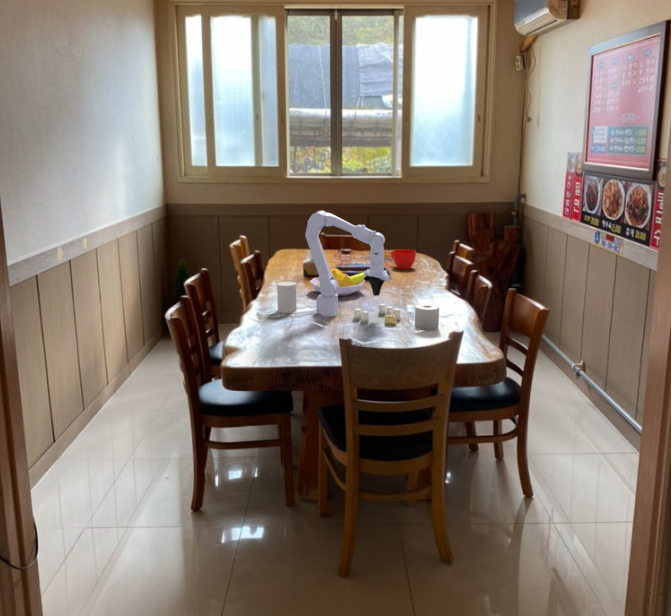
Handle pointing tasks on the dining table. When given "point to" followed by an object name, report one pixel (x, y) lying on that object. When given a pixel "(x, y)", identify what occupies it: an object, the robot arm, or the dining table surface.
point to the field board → (374, 319)
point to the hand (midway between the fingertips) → (376, 295)
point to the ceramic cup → (403, 258)
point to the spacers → (382, 311)
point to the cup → (286, 297)
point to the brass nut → (390, 320)
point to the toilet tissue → (427, 316)
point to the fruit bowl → (343, 282)
